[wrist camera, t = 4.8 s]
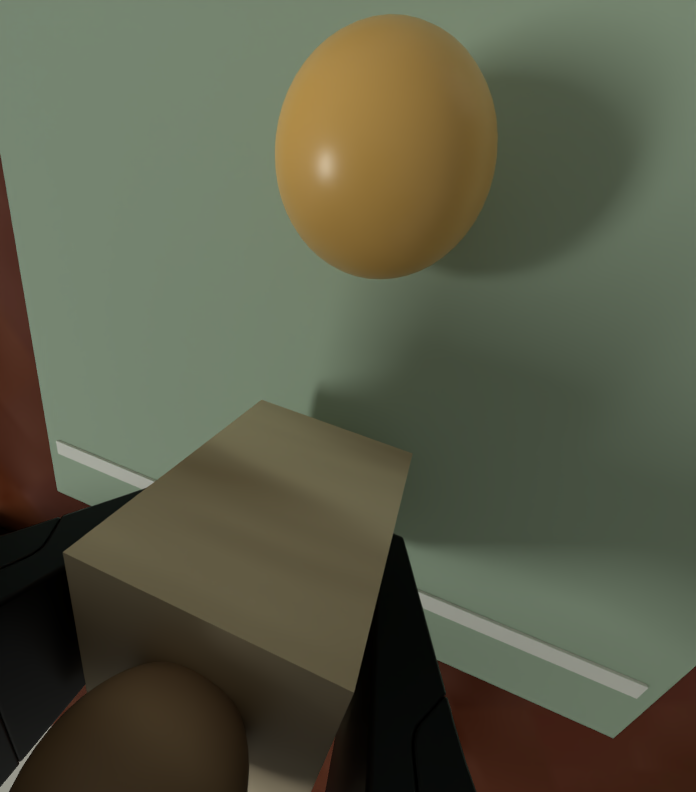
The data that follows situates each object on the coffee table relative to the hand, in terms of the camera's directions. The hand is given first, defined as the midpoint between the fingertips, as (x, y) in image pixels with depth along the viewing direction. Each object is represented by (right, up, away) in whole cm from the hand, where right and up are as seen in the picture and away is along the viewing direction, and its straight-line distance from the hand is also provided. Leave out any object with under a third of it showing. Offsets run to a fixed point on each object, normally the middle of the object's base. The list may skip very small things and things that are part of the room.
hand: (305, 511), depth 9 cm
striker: (0, 0, +1) cm, 1 cm away
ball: (+2, +7, -3) cm, 7 cm away
